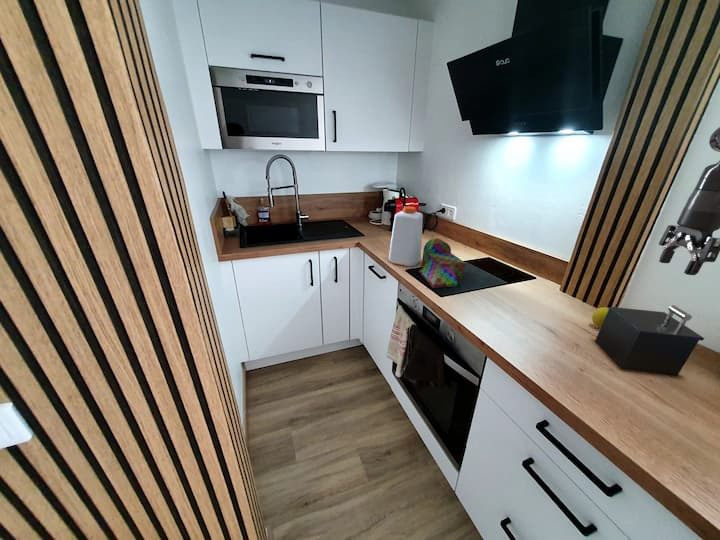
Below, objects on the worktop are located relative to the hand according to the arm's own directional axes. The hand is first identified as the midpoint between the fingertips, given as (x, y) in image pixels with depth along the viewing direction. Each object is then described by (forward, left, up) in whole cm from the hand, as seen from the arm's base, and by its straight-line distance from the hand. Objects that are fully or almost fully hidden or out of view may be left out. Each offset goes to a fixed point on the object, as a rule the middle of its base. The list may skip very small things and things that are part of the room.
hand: (675, 268), depth 78 cm
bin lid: (+4, +6, -15) cm, 16 cm away
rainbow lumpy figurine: (+56, -42, -27) cm, 75 cm away
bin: (+4, +6, -27) cm, 28 cm away
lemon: (+5, -9, -27) cm, 29 cm away
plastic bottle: (+73, -57, -27) cm, 96 cm away
